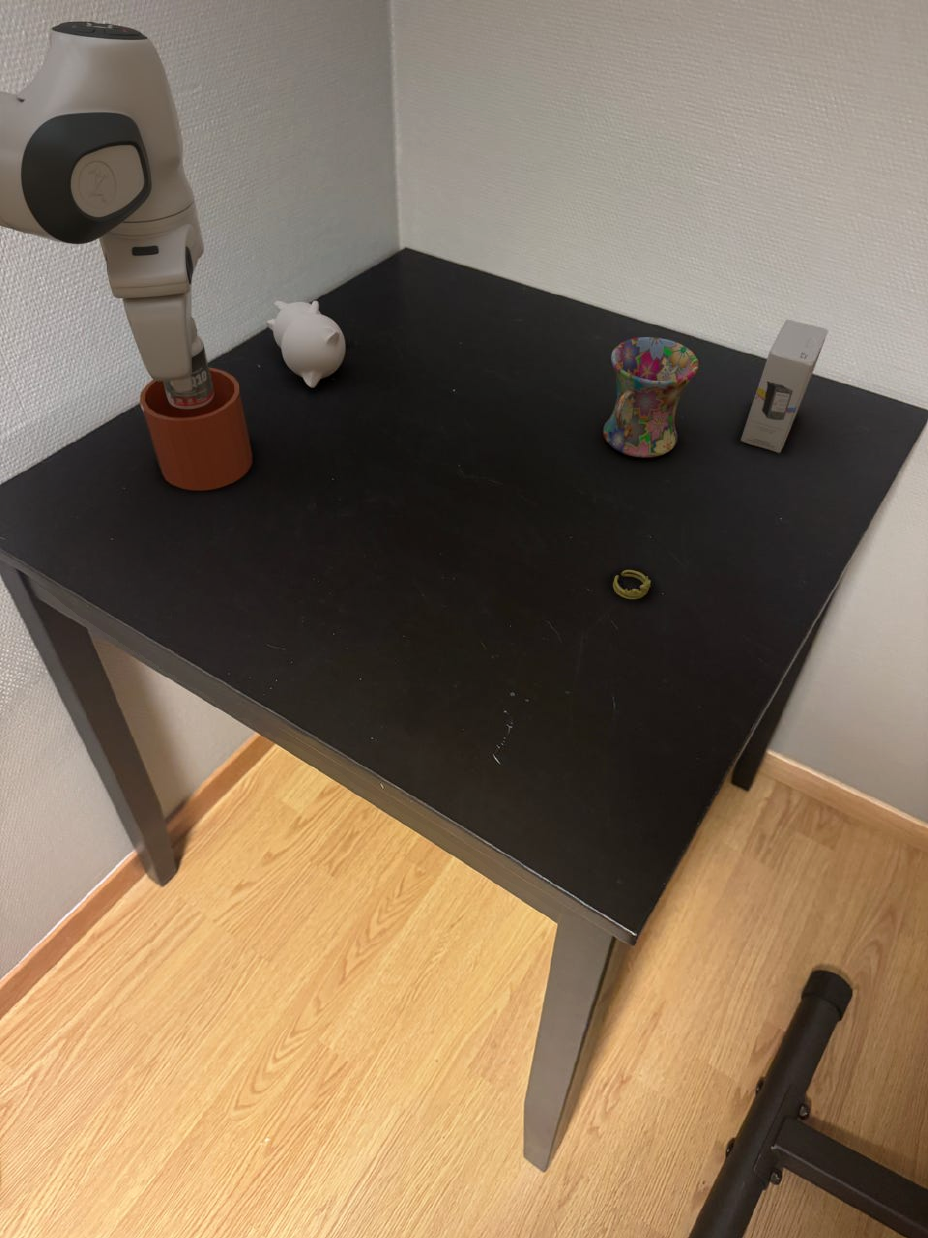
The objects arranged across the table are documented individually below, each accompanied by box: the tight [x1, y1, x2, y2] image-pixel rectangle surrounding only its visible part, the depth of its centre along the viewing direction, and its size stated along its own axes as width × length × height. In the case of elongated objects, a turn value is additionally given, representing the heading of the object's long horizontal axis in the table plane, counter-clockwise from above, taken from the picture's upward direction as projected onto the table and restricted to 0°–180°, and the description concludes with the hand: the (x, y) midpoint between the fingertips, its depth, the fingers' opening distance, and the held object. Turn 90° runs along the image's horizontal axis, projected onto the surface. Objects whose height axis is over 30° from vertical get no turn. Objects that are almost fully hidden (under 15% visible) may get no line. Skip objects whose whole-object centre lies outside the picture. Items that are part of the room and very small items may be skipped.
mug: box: [602, 336, 699, 458], centre depth 96 cm, size 12×9×11 cm
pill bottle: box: [163, 317, 214, 409], centre depth 87 cm, size 5×5×8 cm
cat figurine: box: [266, 300, 346, 388], centre depth 108 cm, size 9×11×12 cm
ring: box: [612, 569, 652, 600], centre depth 83 cm, size 3×3×3 cm
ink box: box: [740, 319, 829, 454], centre depth 98 cm, size 9×5×12 cm, turn 153°
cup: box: [139, 367, 254, 491], centre depth 93 cm, size 10×10×9 cm
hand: (184, 371), depth 88 cm, fingers closed on pill bottle, 5 cm apart
